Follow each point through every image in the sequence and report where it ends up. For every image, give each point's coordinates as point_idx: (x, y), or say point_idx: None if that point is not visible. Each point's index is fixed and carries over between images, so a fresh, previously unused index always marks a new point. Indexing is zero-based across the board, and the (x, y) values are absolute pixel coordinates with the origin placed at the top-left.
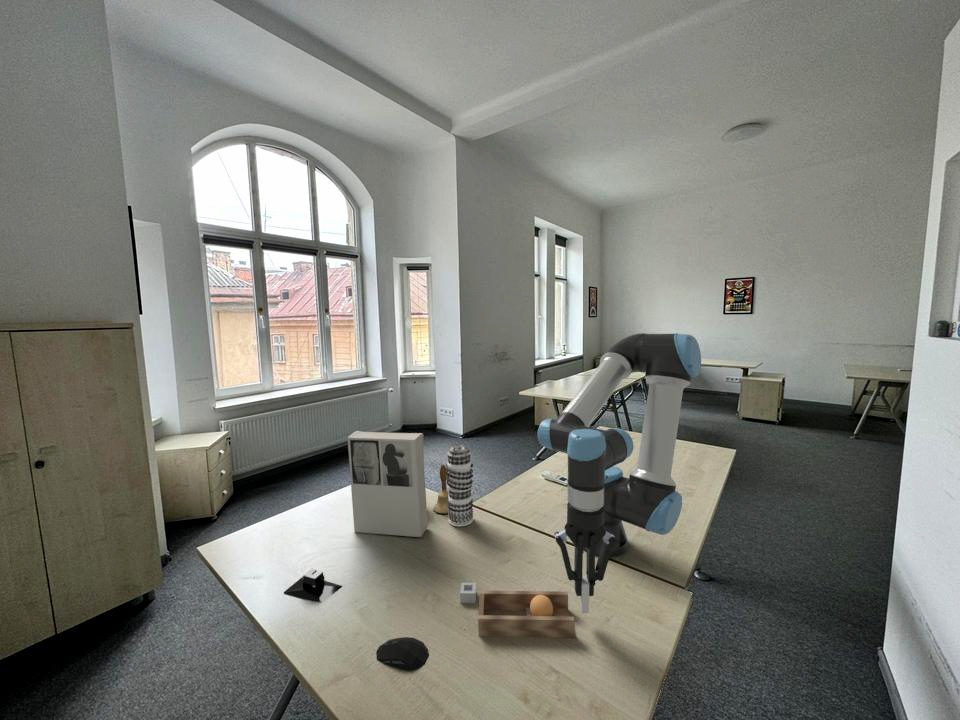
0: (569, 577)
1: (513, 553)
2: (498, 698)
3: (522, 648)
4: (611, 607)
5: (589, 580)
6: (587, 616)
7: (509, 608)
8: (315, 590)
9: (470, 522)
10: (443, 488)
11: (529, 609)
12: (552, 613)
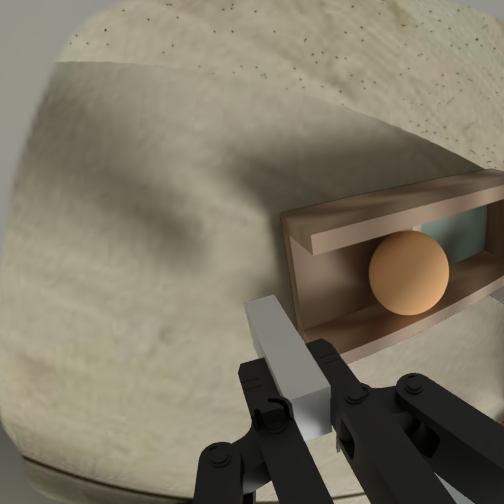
0: (422, 382)
1: None
2: (440, 20)
3: (420, 151)
4: (156, 381)
5: (291, 422)
6: (232, 328)
7: (450, 270)
8: None
9: None
10: None
11: None
12: (375, 265)
